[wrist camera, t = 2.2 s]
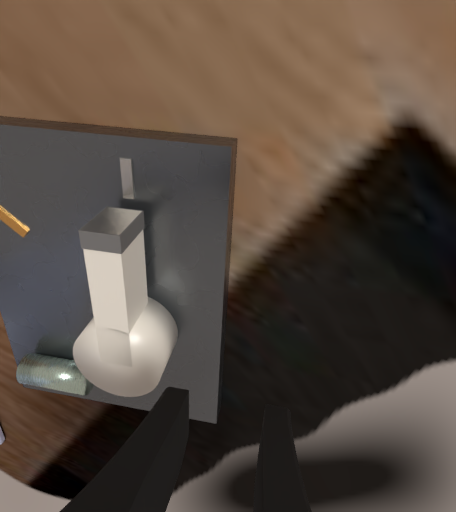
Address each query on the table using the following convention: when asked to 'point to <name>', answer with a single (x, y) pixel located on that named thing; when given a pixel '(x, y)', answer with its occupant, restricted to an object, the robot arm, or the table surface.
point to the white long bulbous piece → (121, 309)
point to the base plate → (155, 243)
